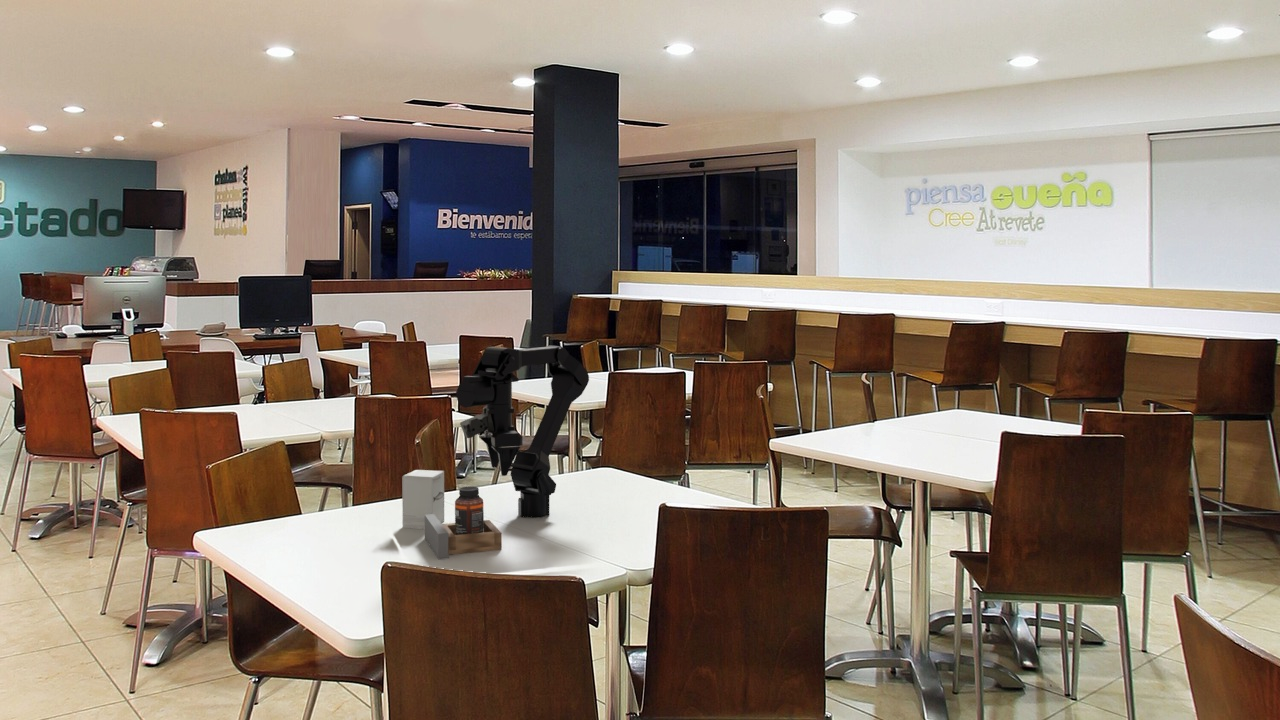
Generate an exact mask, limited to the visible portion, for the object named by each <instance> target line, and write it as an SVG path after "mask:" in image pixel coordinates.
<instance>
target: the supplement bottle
mask: <svg viewBox="0 0 1280 720" xmlns="http://www.w3.org/2000/svg"><path fill="white" fill-rule="evenodd" d="M479 491H480V490H479V487H477V486H473V485H472V486H470V485H469V486H468V485H467V486H463V487H460V488H459V490H458V492H459V493H458V494H459V496H458V497H457V498H456V499H455V501H454V523H455V535H461V534H472V533H483V532H484V516H485V515H484V511H485V509H484V500H483V498H482V497H480V495H479V494H480V493H479Z"/></svg>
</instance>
